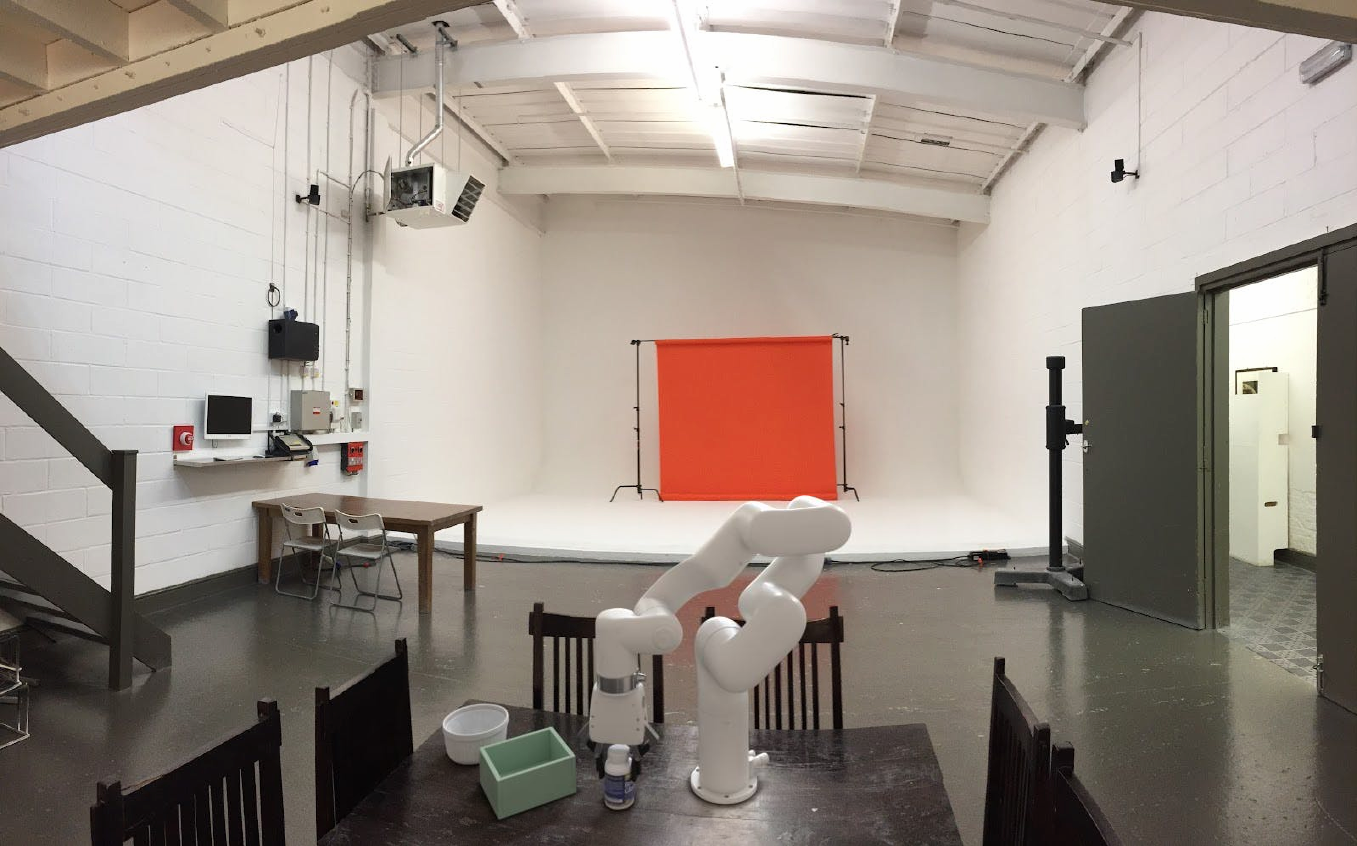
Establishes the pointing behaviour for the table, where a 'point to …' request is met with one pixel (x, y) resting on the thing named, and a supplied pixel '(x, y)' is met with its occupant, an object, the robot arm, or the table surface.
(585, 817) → the table surface
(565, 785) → the green open box
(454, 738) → the ramekin
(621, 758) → the pill bottle
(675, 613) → the robot arm
